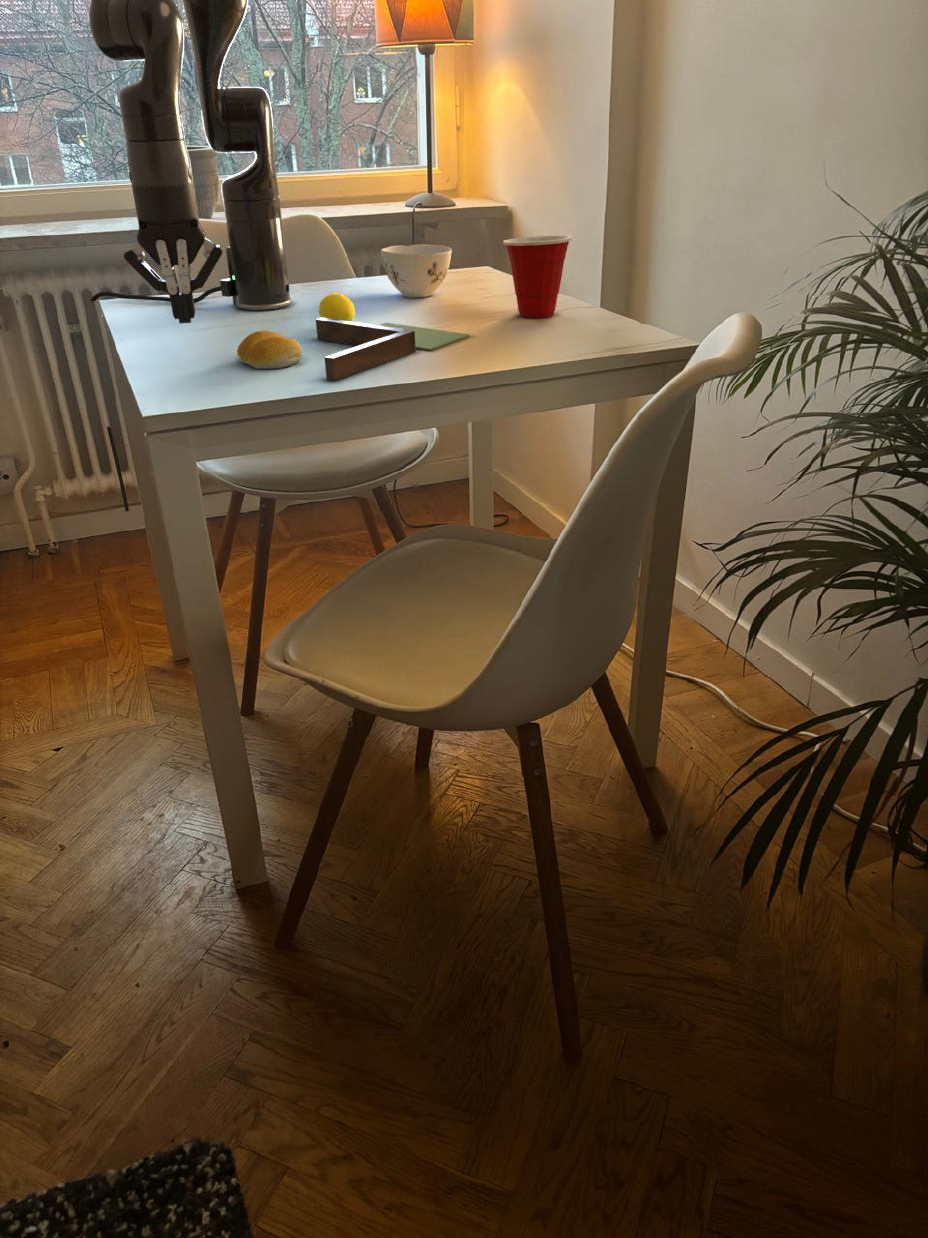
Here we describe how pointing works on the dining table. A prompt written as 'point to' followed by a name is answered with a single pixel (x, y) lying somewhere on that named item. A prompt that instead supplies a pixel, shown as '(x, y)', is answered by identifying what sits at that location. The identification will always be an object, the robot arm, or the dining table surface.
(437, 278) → the teacup
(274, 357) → the bread roll
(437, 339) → the cloth
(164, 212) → the robot arm
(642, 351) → the dining table surface
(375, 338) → the corner guide
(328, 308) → the lemon
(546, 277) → the plastic cup
